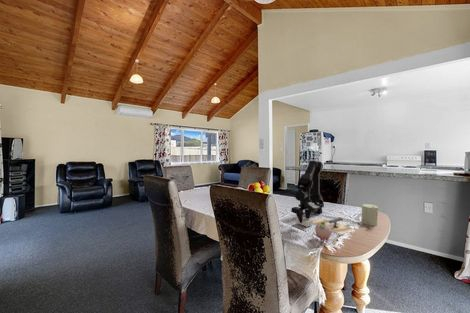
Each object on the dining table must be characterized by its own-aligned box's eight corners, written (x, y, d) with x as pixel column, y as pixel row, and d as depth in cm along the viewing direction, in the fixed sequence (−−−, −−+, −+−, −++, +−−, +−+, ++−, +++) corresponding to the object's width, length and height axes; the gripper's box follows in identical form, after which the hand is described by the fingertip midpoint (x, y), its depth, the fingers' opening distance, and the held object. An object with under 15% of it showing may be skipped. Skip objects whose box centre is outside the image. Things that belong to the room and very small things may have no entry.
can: (369, 226, 140) (370, 207, 139) (357, 221, 149) (358, 203, 148) (380, 224, 142) (381, 206, 141) (368, 219, 151) (369, 202, 150)
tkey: (331, 229, 130) (331, 221, 130) (327, 228, 132) (328, 220, 132) (342, 225, 136) (343, 218, 136) (339, 224, 138) (339, 217, 138)
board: (308, 224, 141) (308, 222, 141) (321, 220, 150) (321, 217, 149) (341, 236, 124) (341, 234, 124) (354, 231, 132) (354, 228, 132)
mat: (292, 226, 138) (292, 225, 138) (302, 222, 144) (302, 222, 144) (305, 231, 130) (305, 231, 130) (315, 227, 136) (315, 227, 136)
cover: (295, 222, 138) (296, 217, 138) (301, 220, 142) (302, 216, 142) (306, 226, 132) (306, 221, 132) (312, 224, 135) (312, 219, 135)
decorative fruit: (332, 244, 114) (333, 226, 114) (315, 242, 116) (316, 224, 116) (329, 237, 123) (330, 219, 123) (314, 235, 125) (315, 218, 125)
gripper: (306, 202, 124) (305, 229, 125) (325, 197, 135) (324, 222, 136) (291, 198, 133) (290, 223, 134) (309, 194, 144) (309, 217, 145)
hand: (304, 221), depth 137 cm, fingers closed on cover, 6 cm apart
